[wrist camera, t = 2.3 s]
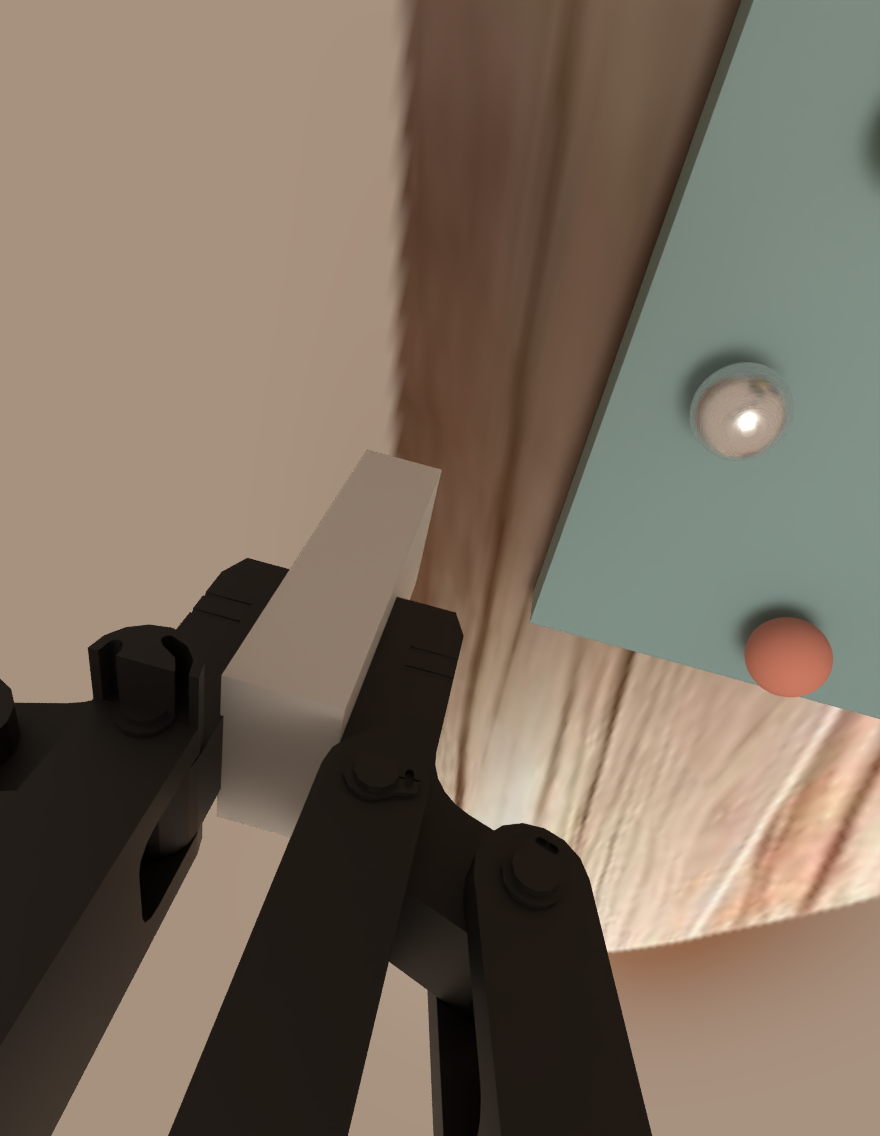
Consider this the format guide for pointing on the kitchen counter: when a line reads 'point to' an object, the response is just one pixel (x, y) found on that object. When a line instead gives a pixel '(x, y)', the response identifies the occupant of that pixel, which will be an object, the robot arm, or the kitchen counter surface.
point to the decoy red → (788, 657)
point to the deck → (760, 335)
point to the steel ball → (741, 411)
